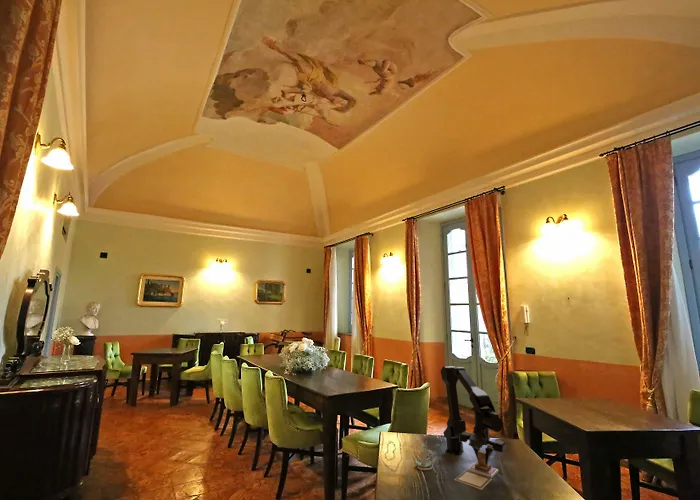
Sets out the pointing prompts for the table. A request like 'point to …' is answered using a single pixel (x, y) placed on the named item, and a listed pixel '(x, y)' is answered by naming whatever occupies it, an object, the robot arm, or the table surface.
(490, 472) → the ink pad
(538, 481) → the table surface
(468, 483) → the marked card
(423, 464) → the pacifier
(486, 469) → the stamp
